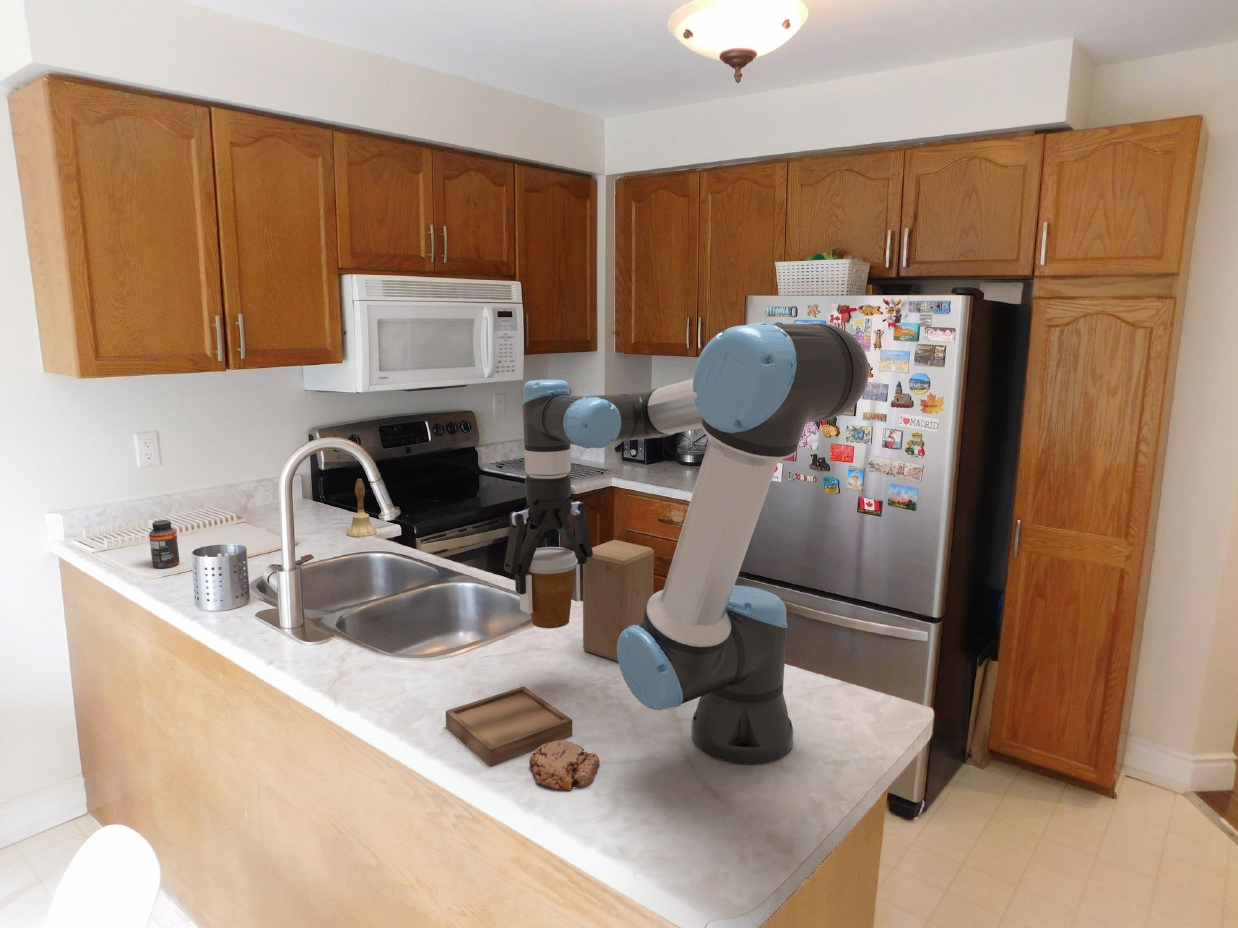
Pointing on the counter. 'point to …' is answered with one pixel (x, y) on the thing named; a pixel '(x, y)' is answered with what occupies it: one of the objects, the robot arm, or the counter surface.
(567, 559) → the disposable coffee cup
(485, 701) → the wooden tray
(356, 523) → the hand bell
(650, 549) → the wooden block
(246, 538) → the counter surface
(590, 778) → the cookie
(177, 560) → the supplement bottle
